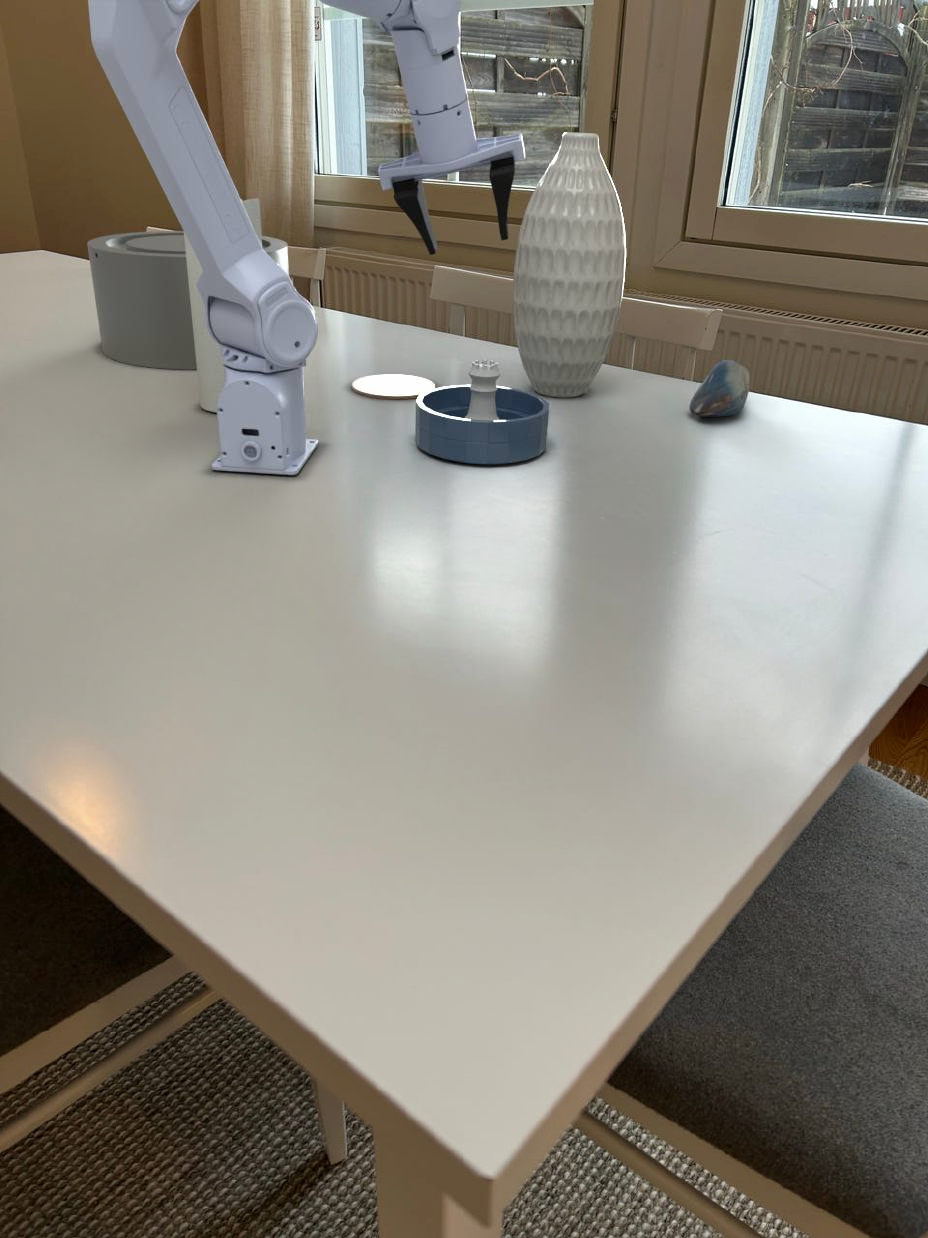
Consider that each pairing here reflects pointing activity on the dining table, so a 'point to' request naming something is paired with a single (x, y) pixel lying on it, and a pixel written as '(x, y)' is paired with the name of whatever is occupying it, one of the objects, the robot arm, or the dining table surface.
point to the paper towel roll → (205, 345)
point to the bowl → (481, 426)
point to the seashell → (722, 391)
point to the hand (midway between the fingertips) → (468, 243)
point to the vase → (569, 270)
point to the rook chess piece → (483, 391)
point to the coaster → (392, 386)
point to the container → (149, 296)
